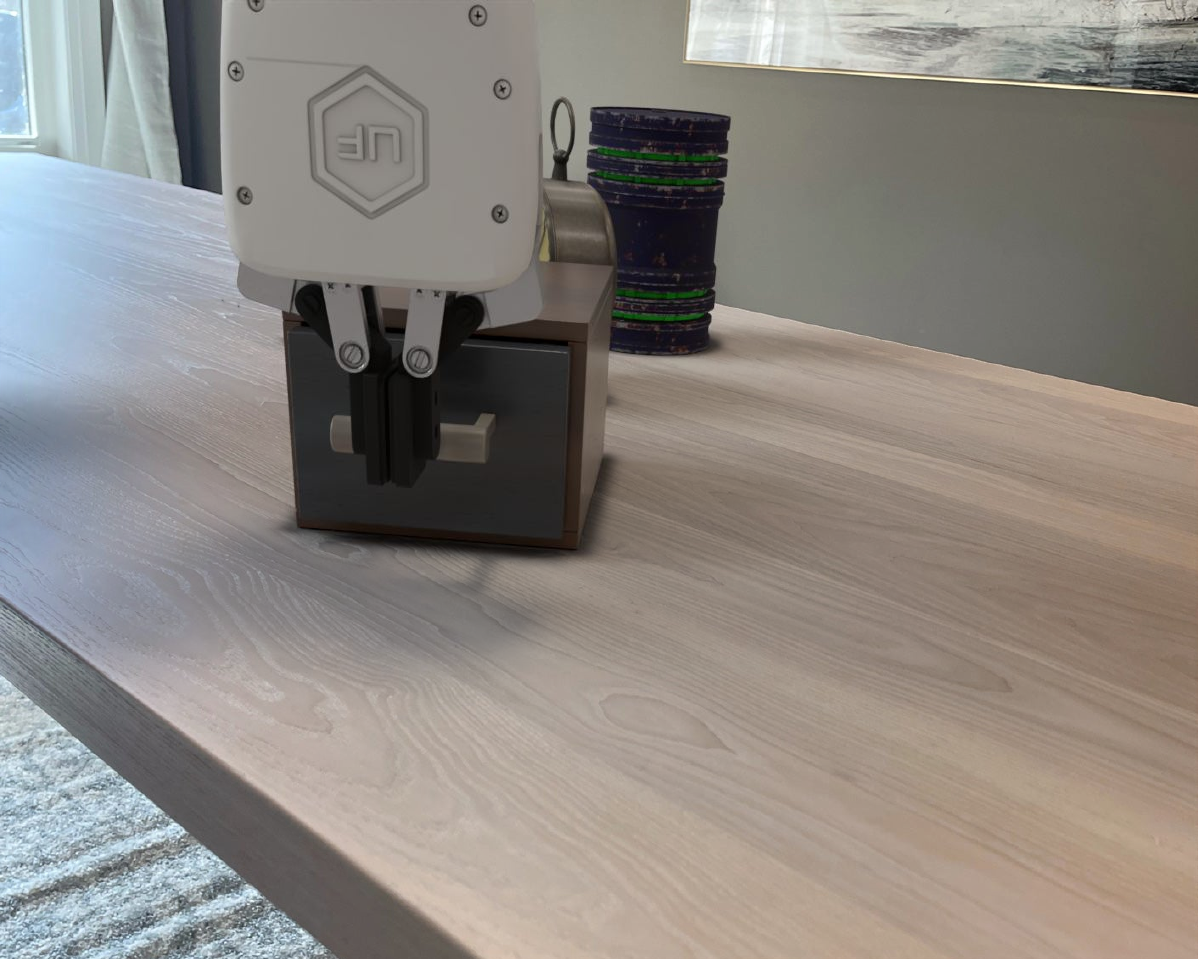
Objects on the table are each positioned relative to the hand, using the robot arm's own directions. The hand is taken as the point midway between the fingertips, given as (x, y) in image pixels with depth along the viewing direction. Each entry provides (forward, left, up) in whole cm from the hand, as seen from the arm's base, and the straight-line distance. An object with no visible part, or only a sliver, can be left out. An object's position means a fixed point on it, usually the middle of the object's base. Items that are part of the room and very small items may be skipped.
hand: (397, 475), depth 48 cm
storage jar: (+7, +53, -5) cm, 53 cm away
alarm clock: (+2, +37, -5) cm, 37 cm away
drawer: (0, +10, -4) cm, 11 cm away
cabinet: (0, +15, -5) cm, 15 cm away
